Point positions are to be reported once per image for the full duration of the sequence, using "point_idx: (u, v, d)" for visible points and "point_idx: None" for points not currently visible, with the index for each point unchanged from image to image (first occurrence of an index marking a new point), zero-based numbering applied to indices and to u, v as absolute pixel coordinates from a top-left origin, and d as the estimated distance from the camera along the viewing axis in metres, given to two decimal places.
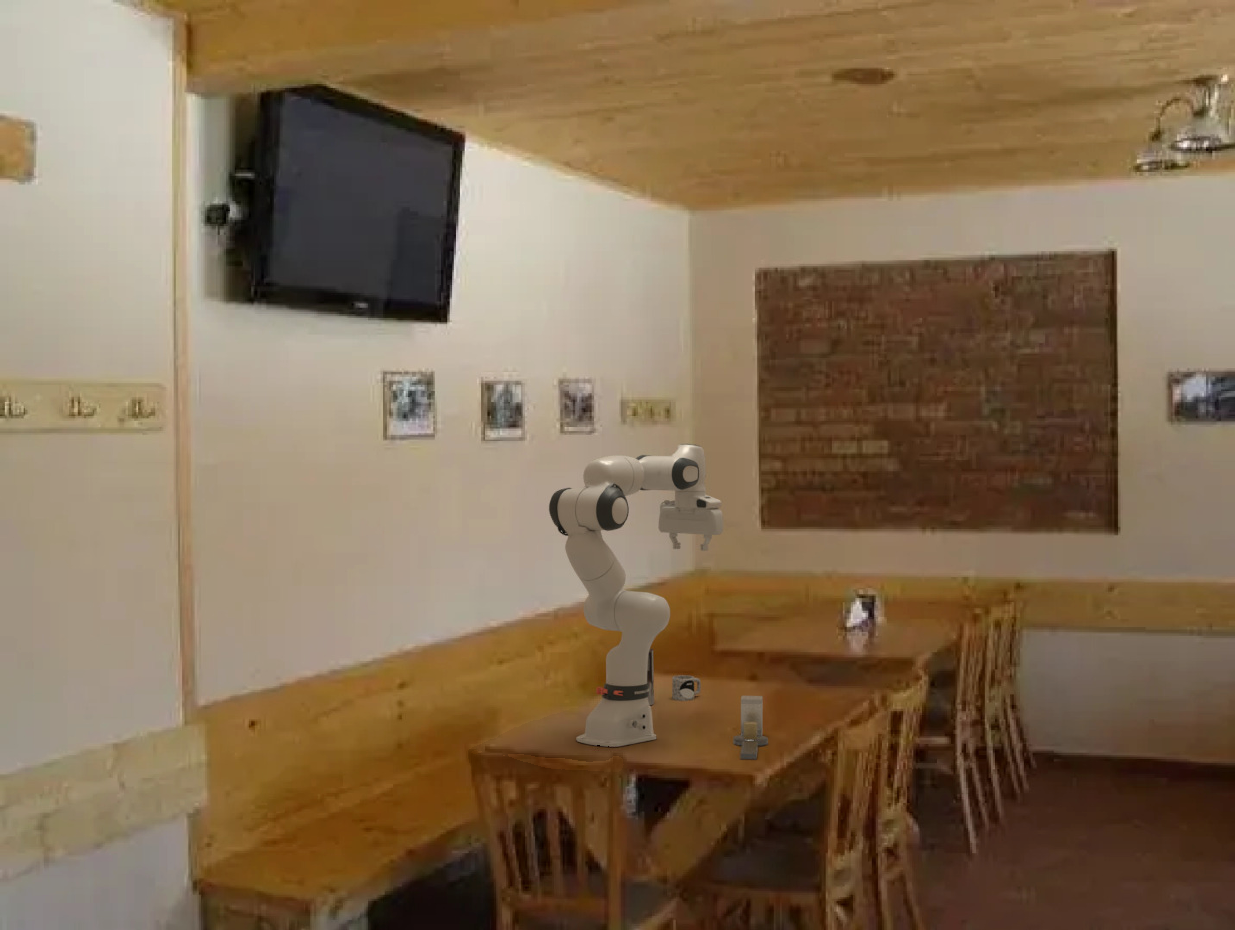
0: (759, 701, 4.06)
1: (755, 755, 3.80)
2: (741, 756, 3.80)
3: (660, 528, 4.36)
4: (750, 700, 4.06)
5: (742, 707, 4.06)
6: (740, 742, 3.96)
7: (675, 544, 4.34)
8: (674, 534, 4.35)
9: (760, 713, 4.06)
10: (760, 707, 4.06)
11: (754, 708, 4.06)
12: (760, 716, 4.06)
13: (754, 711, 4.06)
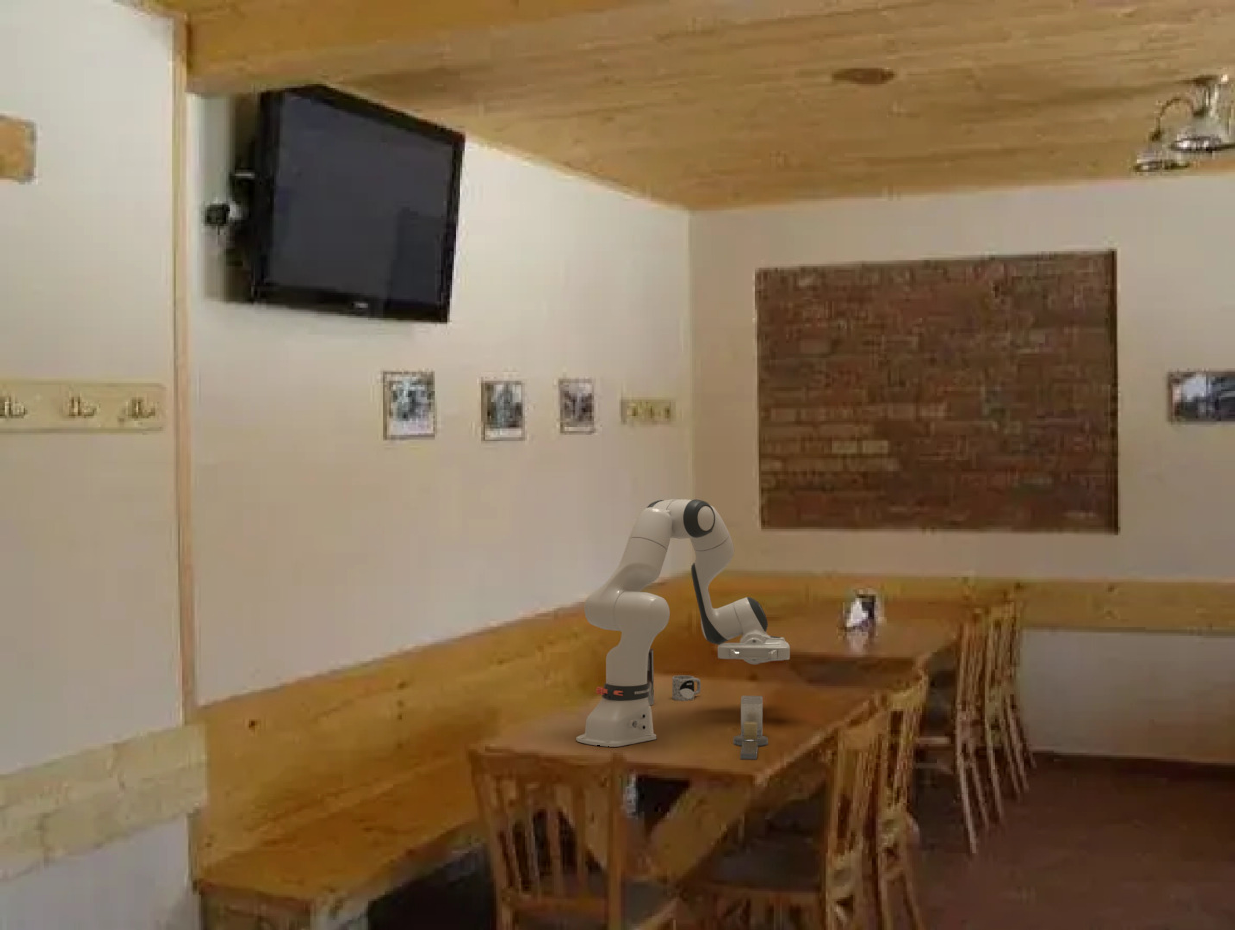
0: (759, 701, 4.06)
1: (755, 755, 3.80)
2: (741, 756, 3.80)
3: (721, 645, 4.27)
4: (750, 700, 4.06)
5: (742, 707, 4.06)
6: (740, 742, 3.96)
7: (736, 651, 4.22)
8: (735, 651, 4.25)
9: (760, 713, 4.06)
10: (760, 707, 4.06)
11: (754, 708, 4.06)
12: (760, 716, 4.06)
13: (754, 711, 4.06)
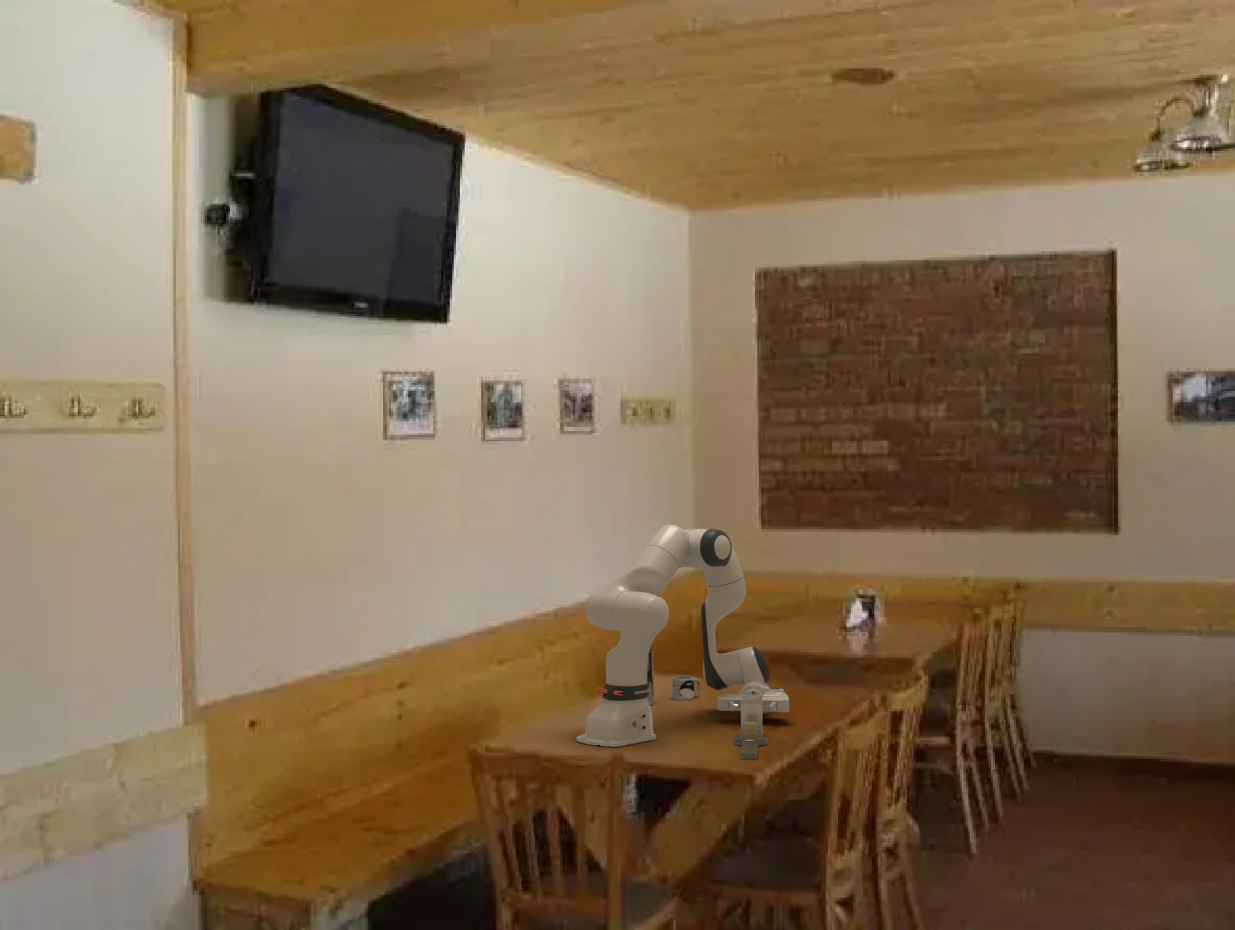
0: (759, 701, 4.06)
1: (755, 755, 3.80)
2: (741, 756, 3.80)
3: (720, 697, 4.25)
4: (750, 700, 4.06)
5: (742, 707, 4.06)
6: (740, 742, 3.96)
7: (736, 703, 4.20)
8: (734, 703, 4.23)
9: (760, 713, 4.06)
10: (760, 707, 4.06)
11: (754, 708, 4.06)
12: (760, 716, 4.06)
13: (754, 711, 4.06)
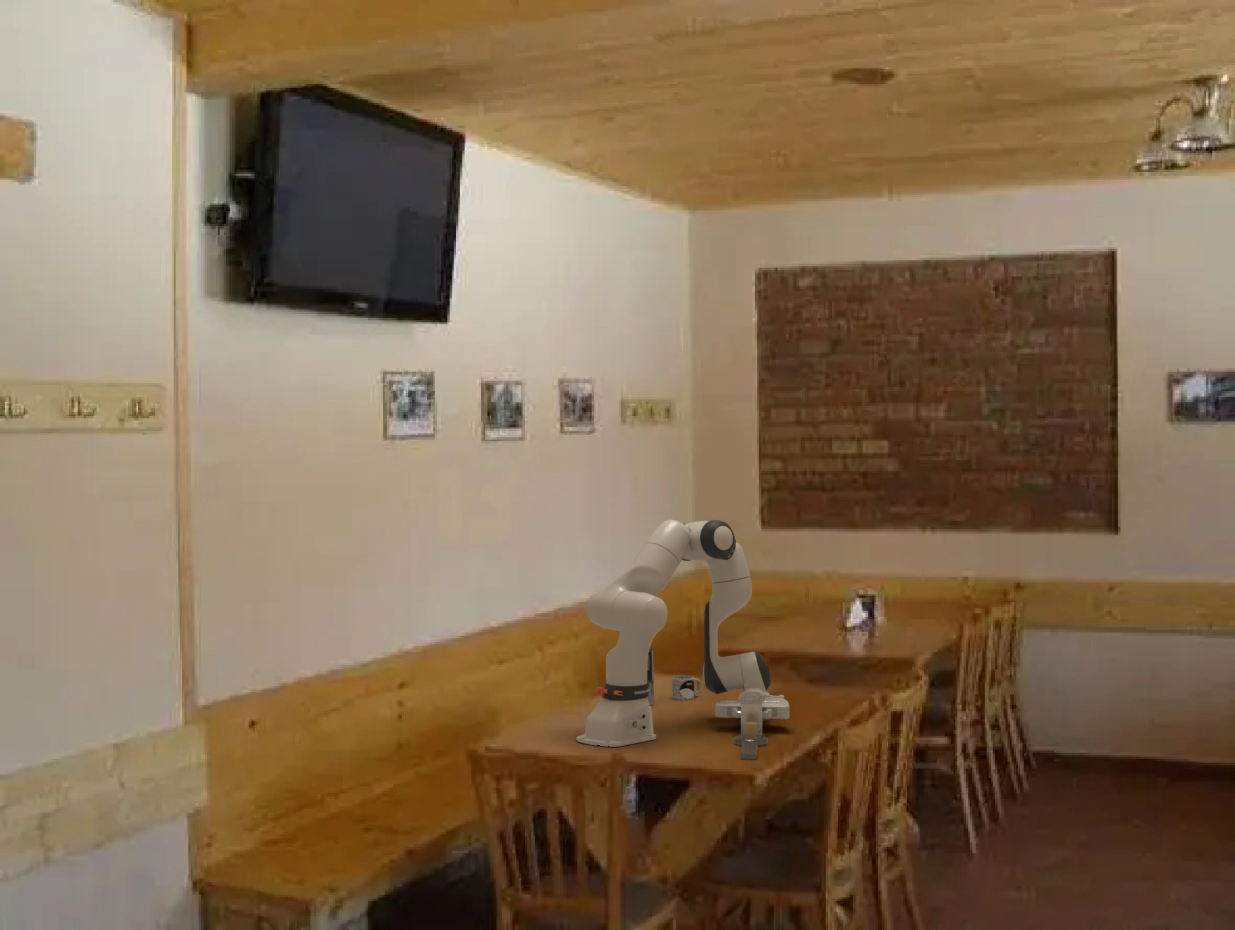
0: (759, 701, 4.06)
1: (755, 755, 3.80)
2: (741, 756, 3.80)
3: (718, 703, 4.15)
4: (750, 700, 4.06)
5: (742, 707, 4.06)
6: (740, 742, 3.96)
7: (739, 710, 4.10)
8: (737, 710, 4.12)
9: (760, 713, 4.06)
10: (760, 707, 4.06)
11: (754, 708, 4.06)
12: (760, 716, 4.06)
13: (754, 711, 4.06)
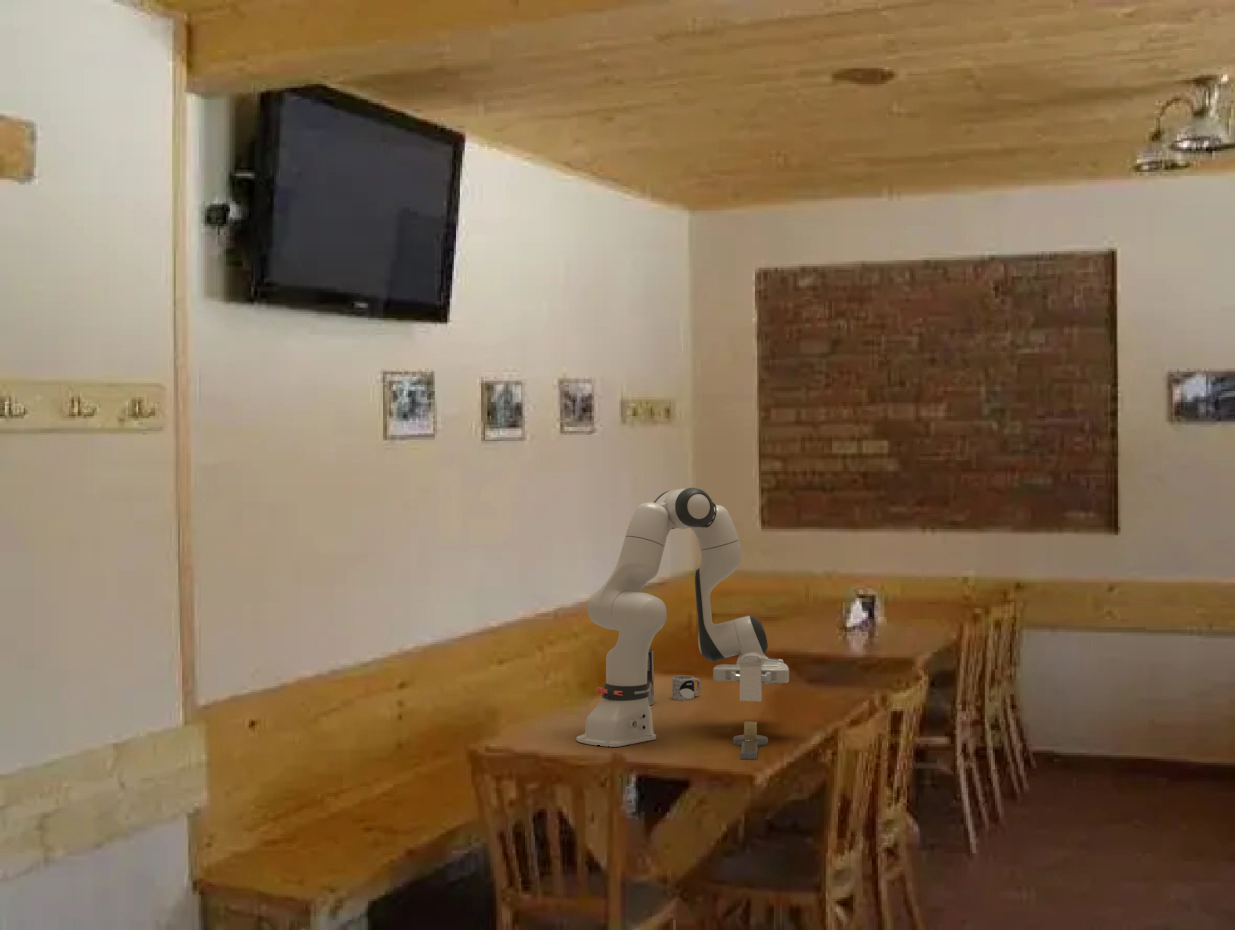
0: (758, 664, 3.98)
1: (755, 755, 3.80)
2: (741, 756, 3.80)
3: (716, 667, 4.06)
4: (749, 663, 3.98)
5: (741, 670, 3.98)
6: (740, 742, 3.96)
7: (738, 674, 4.01)
8: (736, 673, 4.04)
9: (759, 676, 3.98)
10: (759, 670, 3.98)
11: (753, 671, 3.98)
12: (759, 679, 3.98)
13: (753, 674, 3.98)
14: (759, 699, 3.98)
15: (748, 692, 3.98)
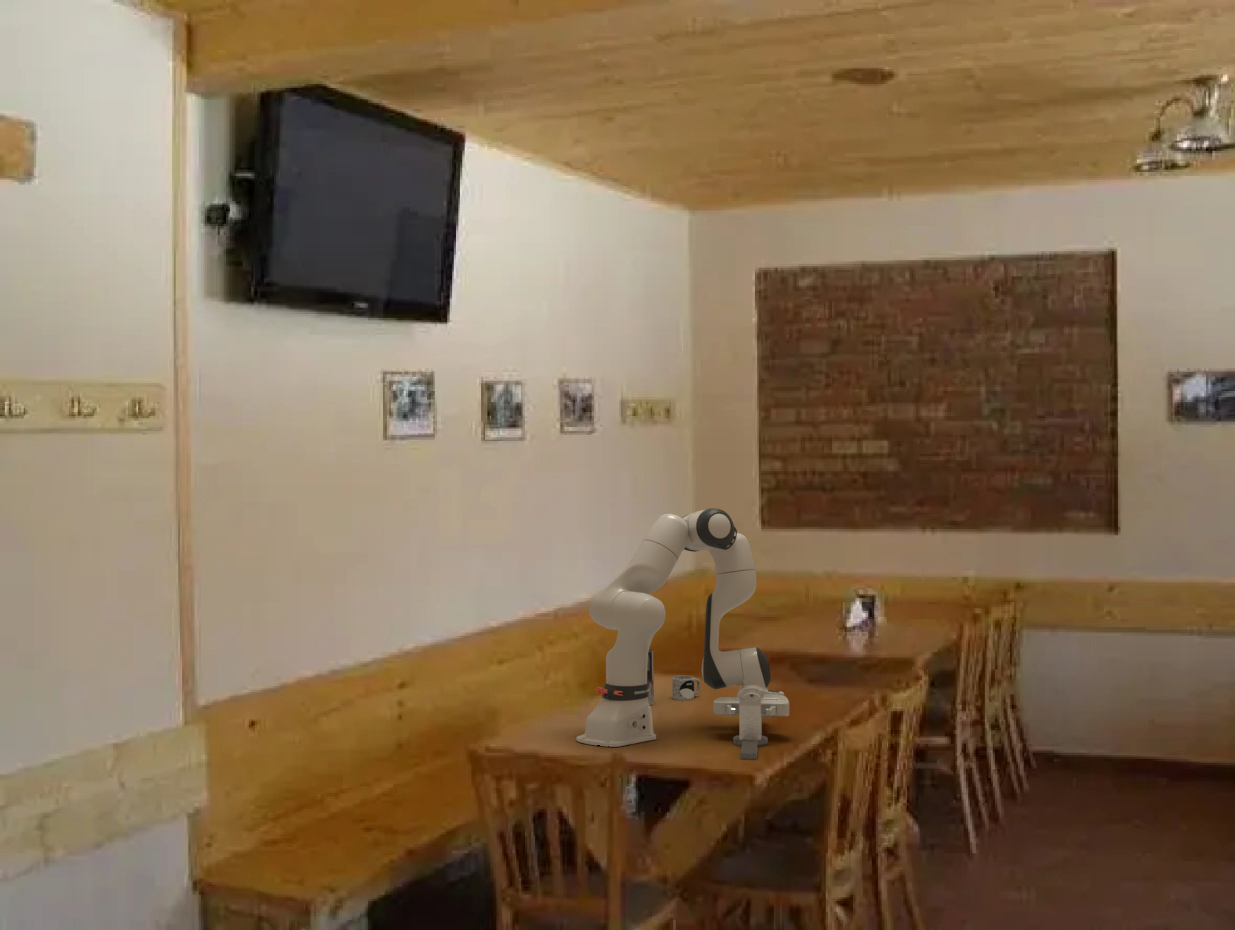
0: (758, 703, 3.96)
1: (755, 755, 3.80)
2: (741, 756, 3.80)
3: (716, 700, 4.05)
4: (749, 702, 3.96)
5: (740, 709, 3.96)
6: (740, 742, 3.96)
7: (733, 707, 4.00)
8: (731, 707, 4.03)
9: (759, 715, 3.96)
10: (759, 709, 3.96)
11: (753, 710, 3.96)
12: (759, 718, 3.96)
13: (753, 713, 3.96)
14: (759, 738, 3.96)
15: (748, 731, 3.96)
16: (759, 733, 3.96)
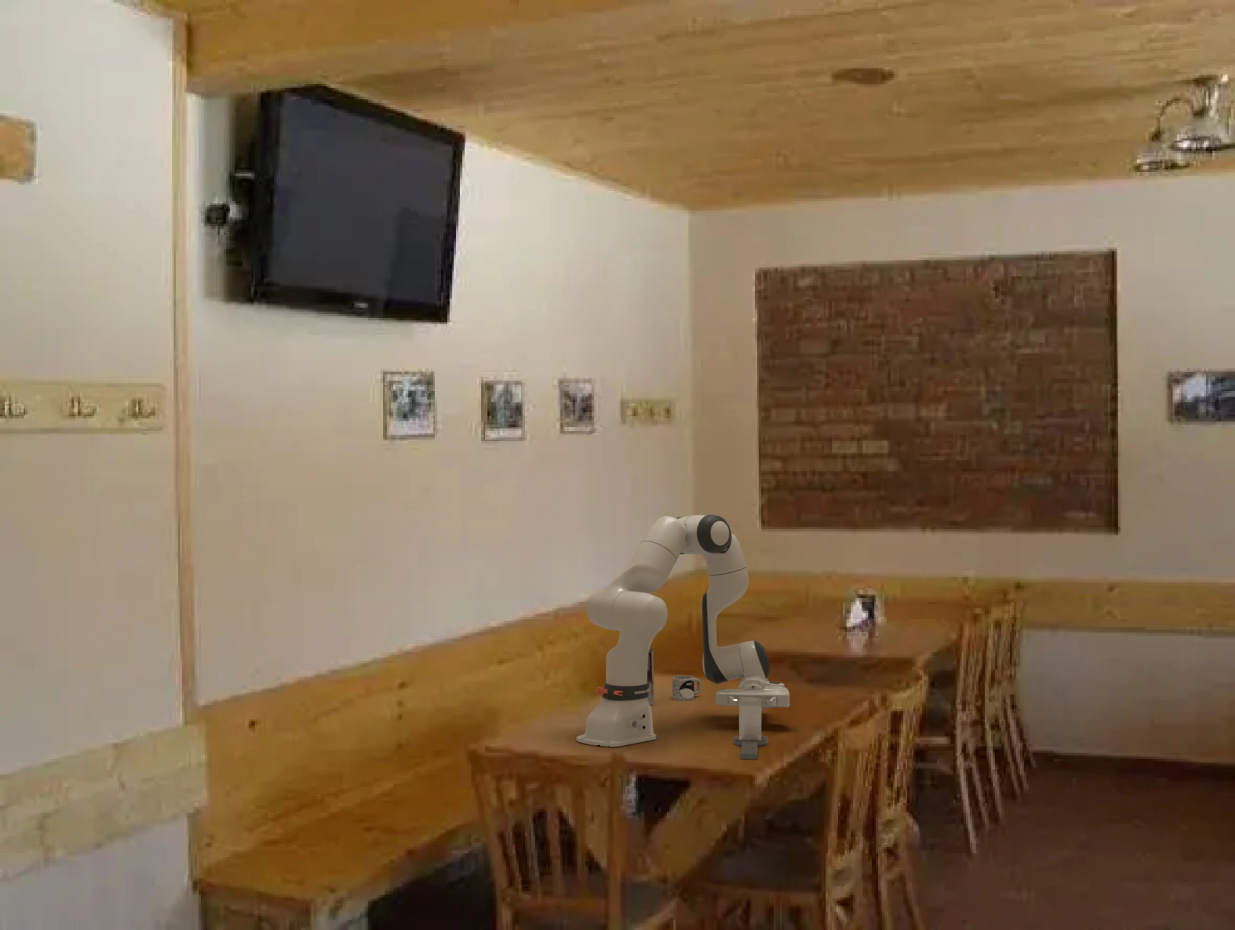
0: (758, 703, 3.96)
1: (755, 755, 3.80)
2: (741, 756, 3.80)
3: (719, 692, 4.17)
4: (748, 702, 3.96)
5: (740, 709, 3.96)
6: (740, 742, 3.96)
7: (735, 698, 4.13)
8: (733, 698, 4.15)
9: (759, 715, 3.96)
10: (759, 709, 3.96)
11: (753, 710, 3.96)
12: (759, 718, 3.96)
13: (753, 713, 3.96)
14: (759, 738, 3.96)
15: (747, 731, 3.96)
16: (759, 733, 3.96)
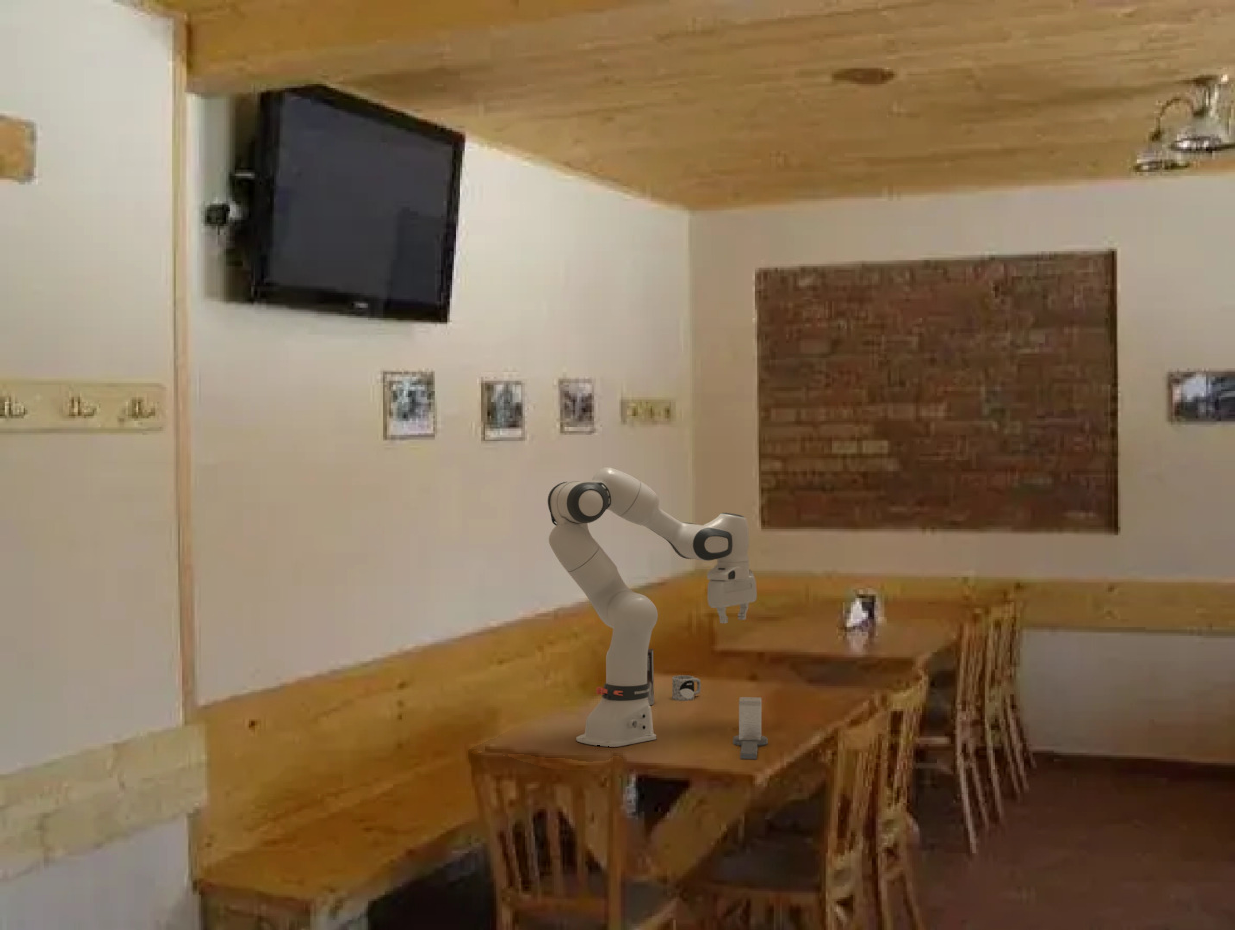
0: (758, 703, 3.96)
1: (755, 755, 3.80)
2: (741, 756, 3.80)
3: None
4: (748, 702, 3.96)
5: (740, 709, 3.96)
6: (740, 742, 3.96)
7: None
8: (741, 604, 4.25)
9: (759, 715, 3.96)
10: (759, 709, 3.96)
11: (753, 710, 3.96)
12: (759, 718, 3.96)
13: (753, 713, 3.96)
14: (758, 738, 3.96)
15: (747, 731, 3.96)
16: (759, 733, 3.96)
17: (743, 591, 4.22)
